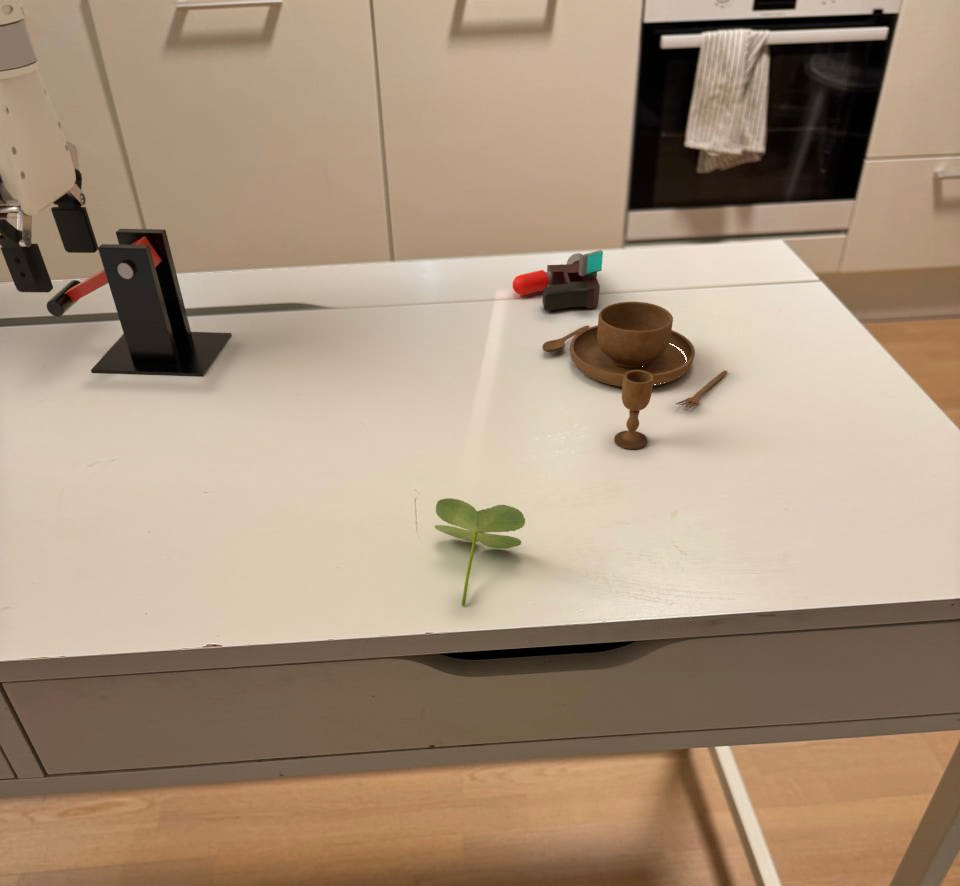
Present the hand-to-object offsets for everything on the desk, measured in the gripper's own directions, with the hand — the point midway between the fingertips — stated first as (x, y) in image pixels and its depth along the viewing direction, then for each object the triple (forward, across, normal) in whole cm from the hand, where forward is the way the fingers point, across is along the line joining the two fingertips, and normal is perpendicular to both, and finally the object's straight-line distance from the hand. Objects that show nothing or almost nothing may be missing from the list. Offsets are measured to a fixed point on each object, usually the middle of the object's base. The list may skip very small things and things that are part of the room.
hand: (60, 270), depth 81 cm
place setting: (+10, +1, +52) cm, 53 cm away
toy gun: (+10, -20, +46) cm, 51 cm away
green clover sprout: (+10, +30, +41) cm, 51 cm away
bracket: (+9, 0, +8) cm, 12 cm away
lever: (+2, 0, +4) cm, 5 cm away
